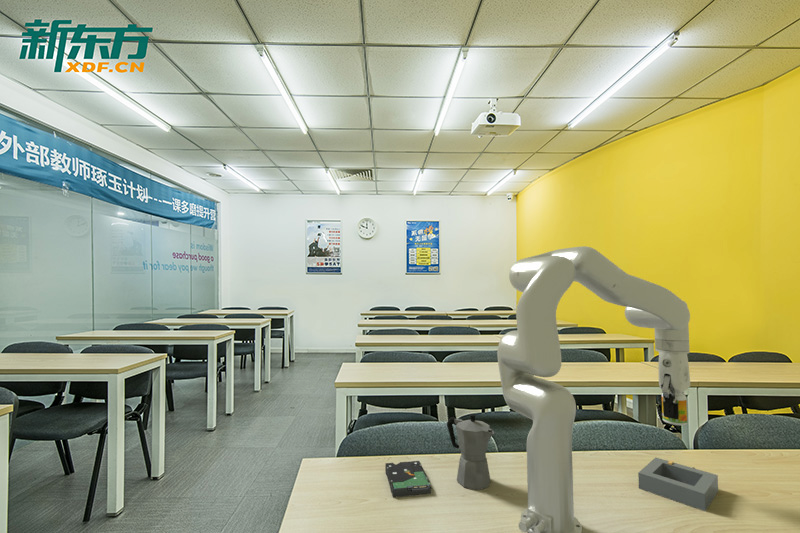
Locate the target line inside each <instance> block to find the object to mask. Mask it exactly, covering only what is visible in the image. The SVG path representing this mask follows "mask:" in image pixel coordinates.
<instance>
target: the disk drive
mask: <svg viewBox="0 0 800 533" xmlns="http://www.w3.org/2000/svg"><path fill="white" fill-rule="evenodd" d="M384 471H385V475H386V478H387V481H388V485H389V488H390V493H391V496H392V498H401V497H402V498H404V497H411V496H412V497H414V496H424V495H432V486H431V483H430V480H429V478H428V476H427V473H426V471H425V470H424V468H423V465H422V463H421V462H420V460H411V461H400V462H398V463H396V464H395V463H394V462H385V470H384Z"/></svg>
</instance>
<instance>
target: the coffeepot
mask: <svg viewBox="0 0 800 533" xmlns="http://www.w3.org/2000/svg"><path fill="white" fill-rule="evenodd" d="M476 416H477V415H476V414H474V413H471V414H469V418H470V419H466V420H463V419H461V418H458V417H457V418H456V417H453V416H451V417H450V418H449V419H448V420H447V422H446V426H447V427H446V428H447V430H448V433H449V438H450V442H451V445H452V447H454V448H456V449H459V450H460V457H459V462H458V468H457V475H456V482H457V483H458V484H459V485H460V486H462V487H463V488H465V489H469V490H474V491H475V490H479V491H480V490H484V489H486V488H488V487H489V486H490V482H491V476H490V475H491V474H490V470H489V464H488V458H487V456H486V455H487V454H486V453H487V451H488V444H489V442H490V440H491V438H492V437H493V435H495V434H496V433H495V431H494V430H493V429H491V425H489V424H488V423H486V422H484V421H482V420H476ZM454 426H455V429H456V435H457V441H458V442H457V443H458V444H457V443H456V435H455V433H454Z"/></svg>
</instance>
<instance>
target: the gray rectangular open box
mask: <svg viewBox="0 0 800 533" xmlns="http://www.w3.org/2000/svg"><path fill="white" fill-rule="evenodd" d="M637 474H638V475H637V476H638V489H640V490H643V491H645V492H649V493H651V494H654V495H657V496H660V497H663V498H666V499H668V500H672V501H675V502H678V503H681V504H683V505H686V506H689V507H692V508H694V509H697V510H700V511H703V512H706V511H707V509H708V508H709V507H710V505H711V503H712V502H713V500H714V498H715V497H716V495H717V494H718V492H719V479H718V478H719V476H718V474H715V473H711V472H707V471H704V470H702V469H698V468H695V467H691V466H687V465H683V464H681V463H676V462H674V460H666V459H663V458H660V457H656V456H655V457H654V458H653V459H652V460H650V462H649V463H647V465H645V466H644V467H643V468H642V469H641V470H639V472H638V473H637Z"/></svg>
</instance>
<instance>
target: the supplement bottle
mask: <svg viewBox="0 0 800 533" xmlns="http://www.w3.org/2000/svg"><path fill="white" fill-rule="evenodd" d="M670 390H674V388H670ZM670 394H672V395H673V393H670ZM684 394H685V393H684ZM684 394H682V392H681V393H679V392H678V391H677V403H678V411H679V419H673V418H668V417H664V413H663V393H662V392H661V416H662V421H663V422H665V423H666V424H669V425H674V426H686V425H688V406H687V395H686V394H685V395H684Z"/></svg>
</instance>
